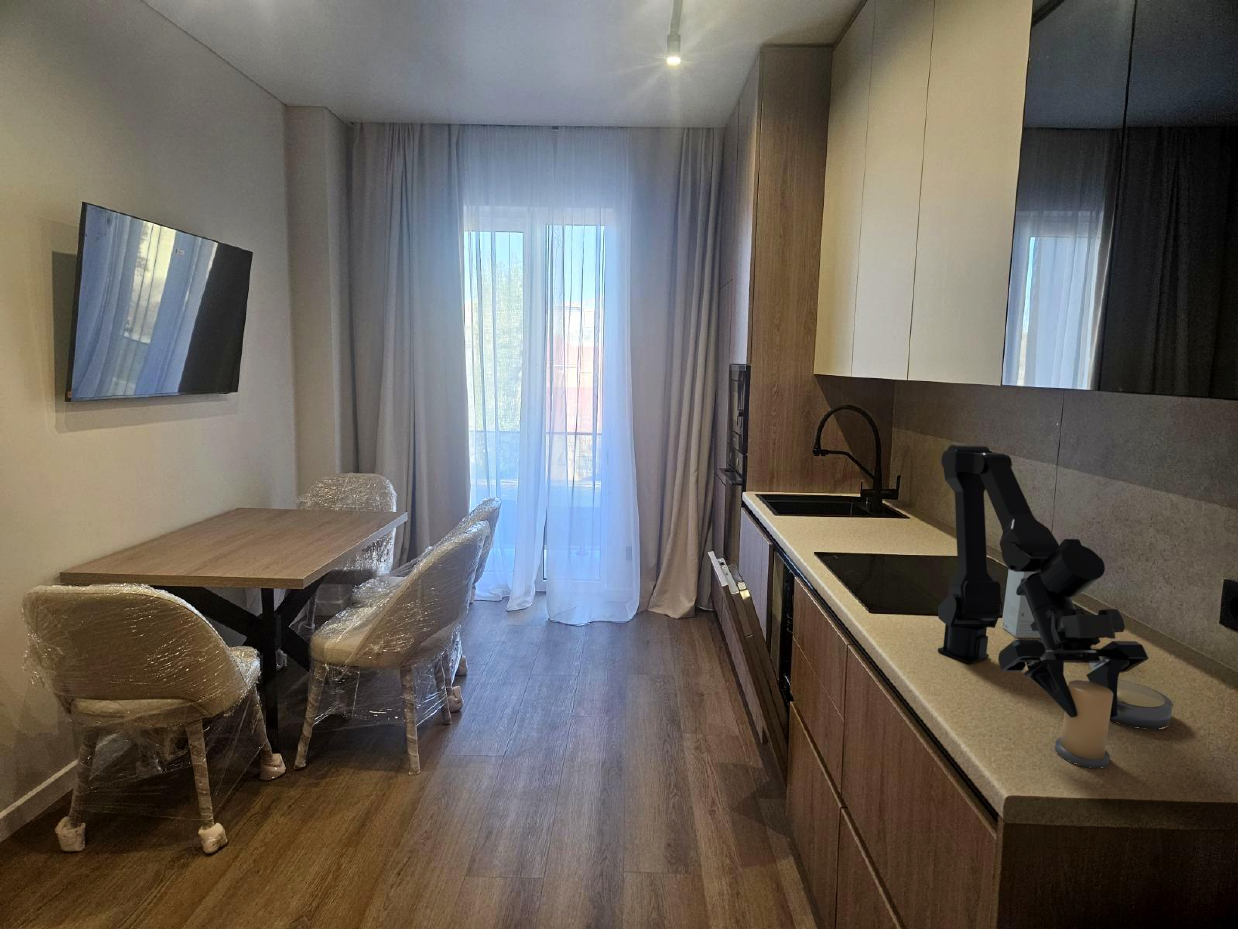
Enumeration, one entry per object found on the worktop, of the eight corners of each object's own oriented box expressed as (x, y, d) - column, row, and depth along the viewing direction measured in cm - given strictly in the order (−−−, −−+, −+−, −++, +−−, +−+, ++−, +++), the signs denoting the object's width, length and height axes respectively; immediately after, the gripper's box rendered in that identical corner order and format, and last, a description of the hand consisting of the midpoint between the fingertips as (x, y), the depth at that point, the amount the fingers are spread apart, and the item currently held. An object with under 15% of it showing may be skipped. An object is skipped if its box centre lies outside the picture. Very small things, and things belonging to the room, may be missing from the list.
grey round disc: (1071, 705, 115) (1074, 685, 114) (1105, 689, 121) (1108, 671, 120) (1150, 737, 106) (1153, 716, 105) (1182, 718, 111) (1186, 698, 111)
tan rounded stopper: (1045, 751, 101) (1054, 684, 100) (1069, 739, 105) (1077, 674, 103) (1094, 773, 96) (1104, 704, 94) (1117, 760, 99) (1127, 693, 98)
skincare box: (1015, 638, 142) (1023, 566, 140) (999, 627, 148) (1007, 557, 146) (1057, 639, 142) (1066, 567, 140) (1040, 628, 148) (1048, 558, 145)
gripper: (1018, 586, 100) (1058, 697, 91) (1148, 587, 101) (1201, 698, 92) (982, 618, 109) (1016, 723, 100) (1102, 620, 110) (1146, 724, 101)
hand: (1094, 717), depth 98 cm, fingers closed on tan rounded stopper, 5 cm apart
